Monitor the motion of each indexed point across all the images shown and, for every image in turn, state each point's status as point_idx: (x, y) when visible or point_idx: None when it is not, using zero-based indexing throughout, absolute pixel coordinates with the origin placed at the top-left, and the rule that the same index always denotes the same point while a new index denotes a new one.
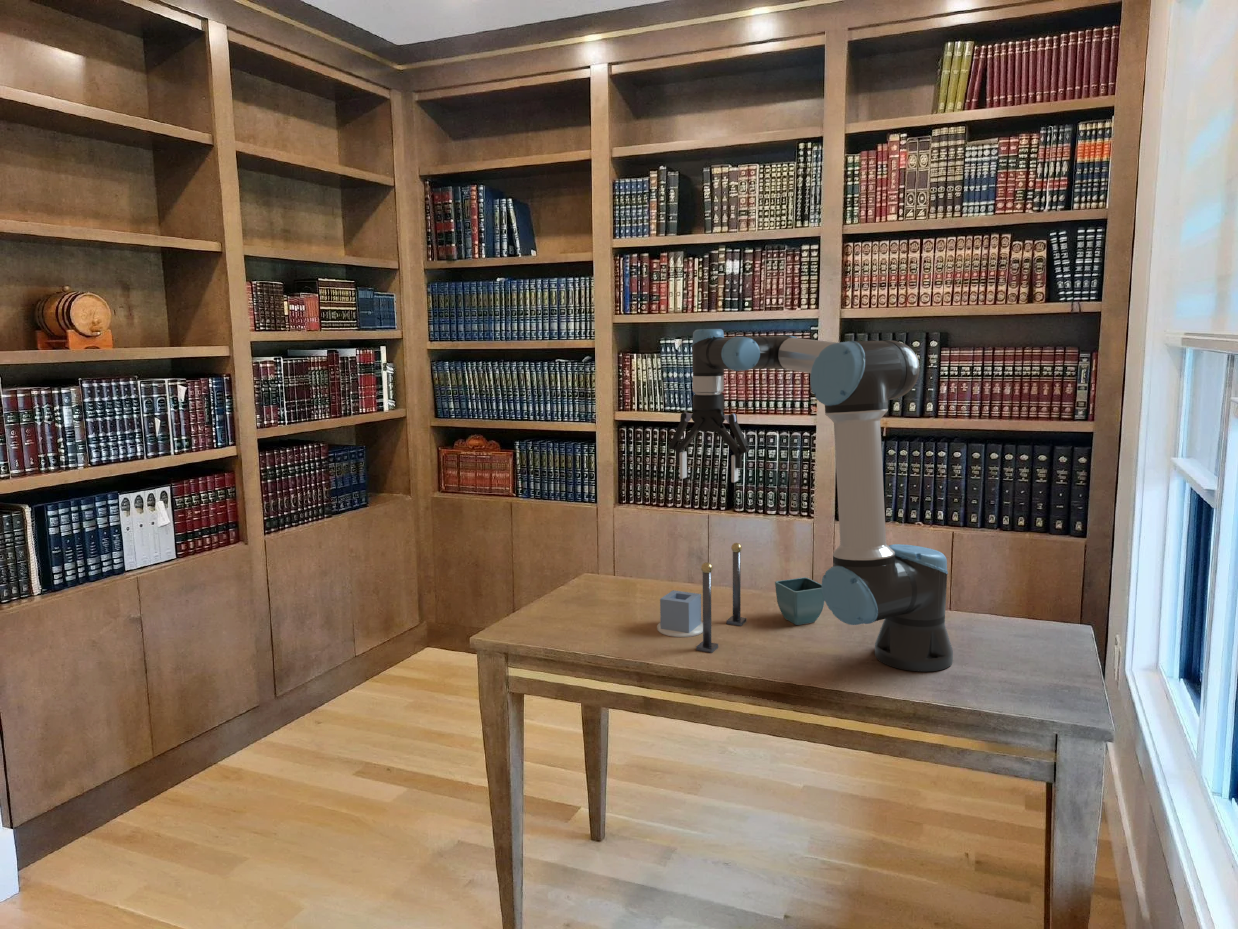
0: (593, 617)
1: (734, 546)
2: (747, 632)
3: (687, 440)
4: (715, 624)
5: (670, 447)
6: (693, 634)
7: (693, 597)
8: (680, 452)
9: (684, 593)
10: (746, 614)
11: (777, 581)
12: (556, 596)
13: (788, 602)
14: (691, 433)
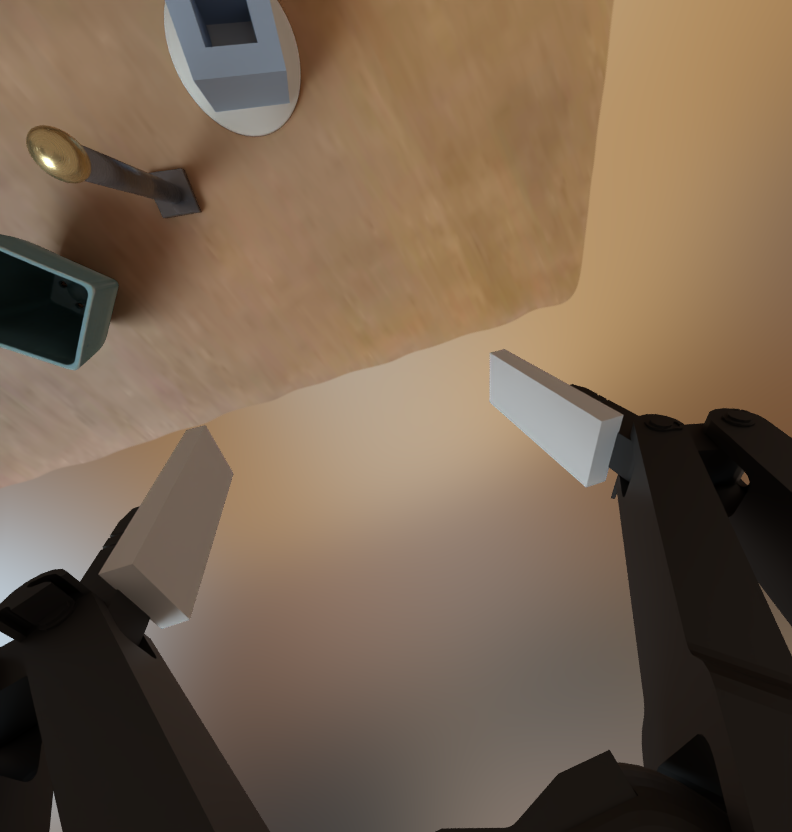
0: (461, 12)
1: (40, 126)
2: (96, 137)
3: (666, 521)
4: (201, 150)
5: (738, 411)
6: (166, 4)
7: (180, 20)
8: (618, 430)
9: (235, 53)
10: (203, 263)
11: (88, 291)
12: (590, 125)
13: (36, 250)
14: (721, 631)
